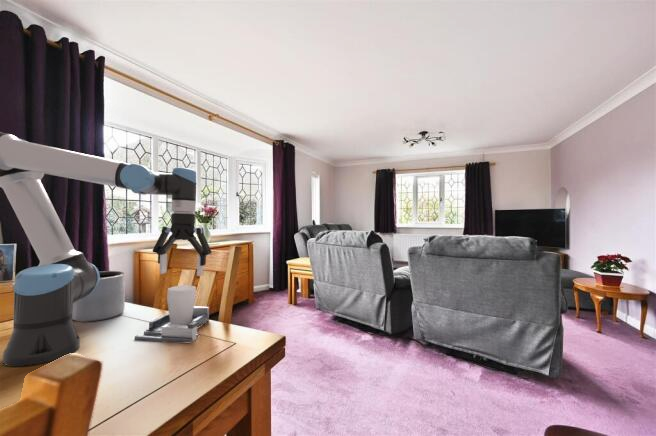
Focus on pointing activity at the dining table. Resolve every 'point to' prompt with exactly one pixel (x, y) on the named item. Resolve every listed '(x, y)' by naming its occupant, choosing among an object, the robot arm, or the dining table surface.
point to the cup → (181, 304)
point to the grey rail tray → (198, 316)
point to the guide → (151, 338)
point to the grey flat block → (180, 331)
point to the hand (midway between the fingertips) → (181, 274)
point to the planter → (102, 299)
